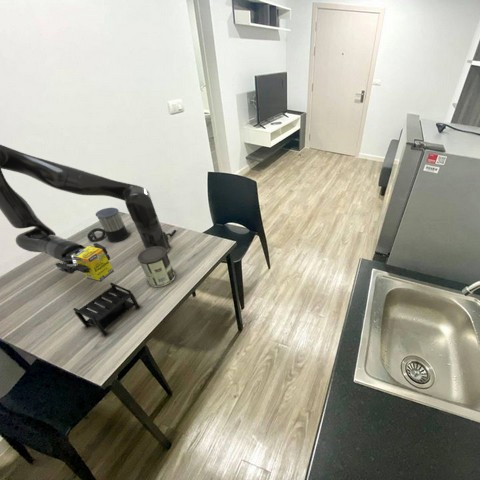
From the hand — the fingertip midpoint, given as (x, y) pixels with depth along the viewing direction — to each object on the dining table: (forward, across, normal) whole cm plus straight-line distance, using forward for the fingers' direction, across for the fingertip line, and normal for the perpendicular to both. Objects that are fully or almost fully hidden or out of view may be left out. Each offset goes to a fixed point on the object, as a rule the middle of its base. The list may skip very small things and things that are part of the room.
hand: (98, 264), depth 91 cm
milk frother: (-41, +27, +20) cm, 53 cm away
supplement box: (-2, 0, +6) cm, 7 cm away
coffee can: (+5, +16, +20) cm, 26 cm away
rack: (+5, -6, +20) cm, 21 cm away
